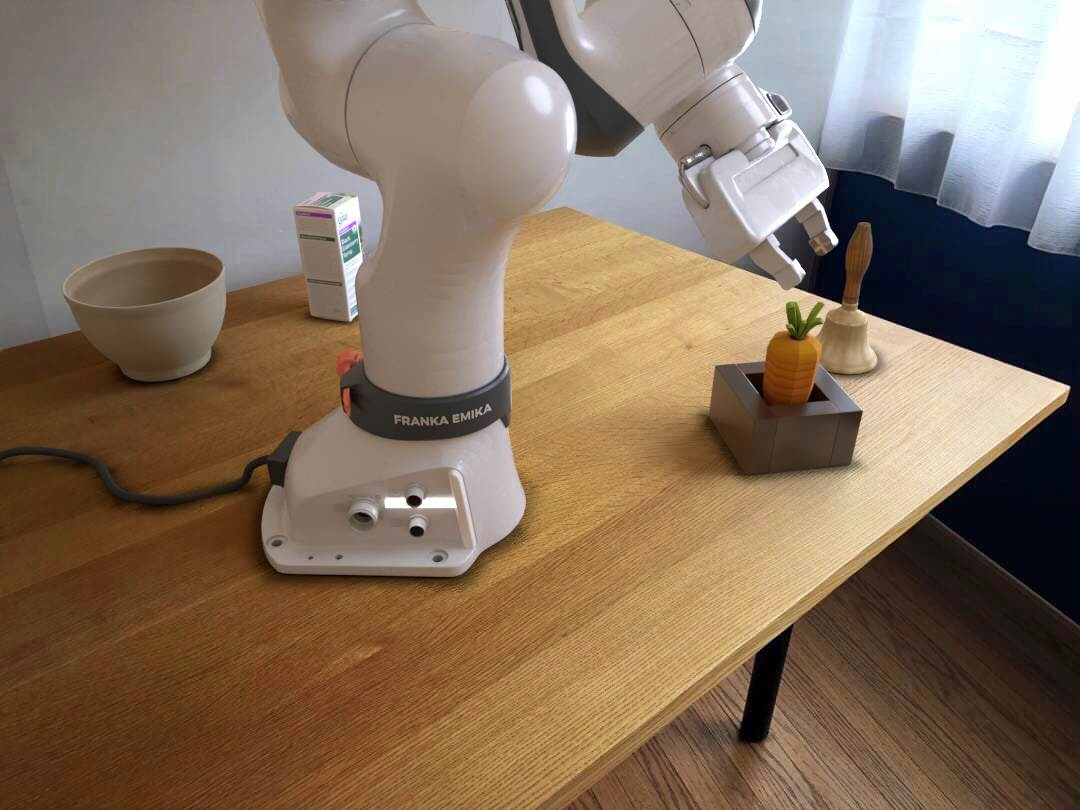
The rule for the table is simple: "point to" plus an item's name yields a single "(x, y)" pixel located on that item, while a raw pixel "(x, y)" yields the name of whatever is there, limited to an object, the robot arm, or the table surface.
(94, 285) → the planter bowl
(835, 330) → the hand bell
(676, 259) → the table surface
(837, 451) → the stand
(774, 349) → the carrot
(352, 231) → the syrup box
